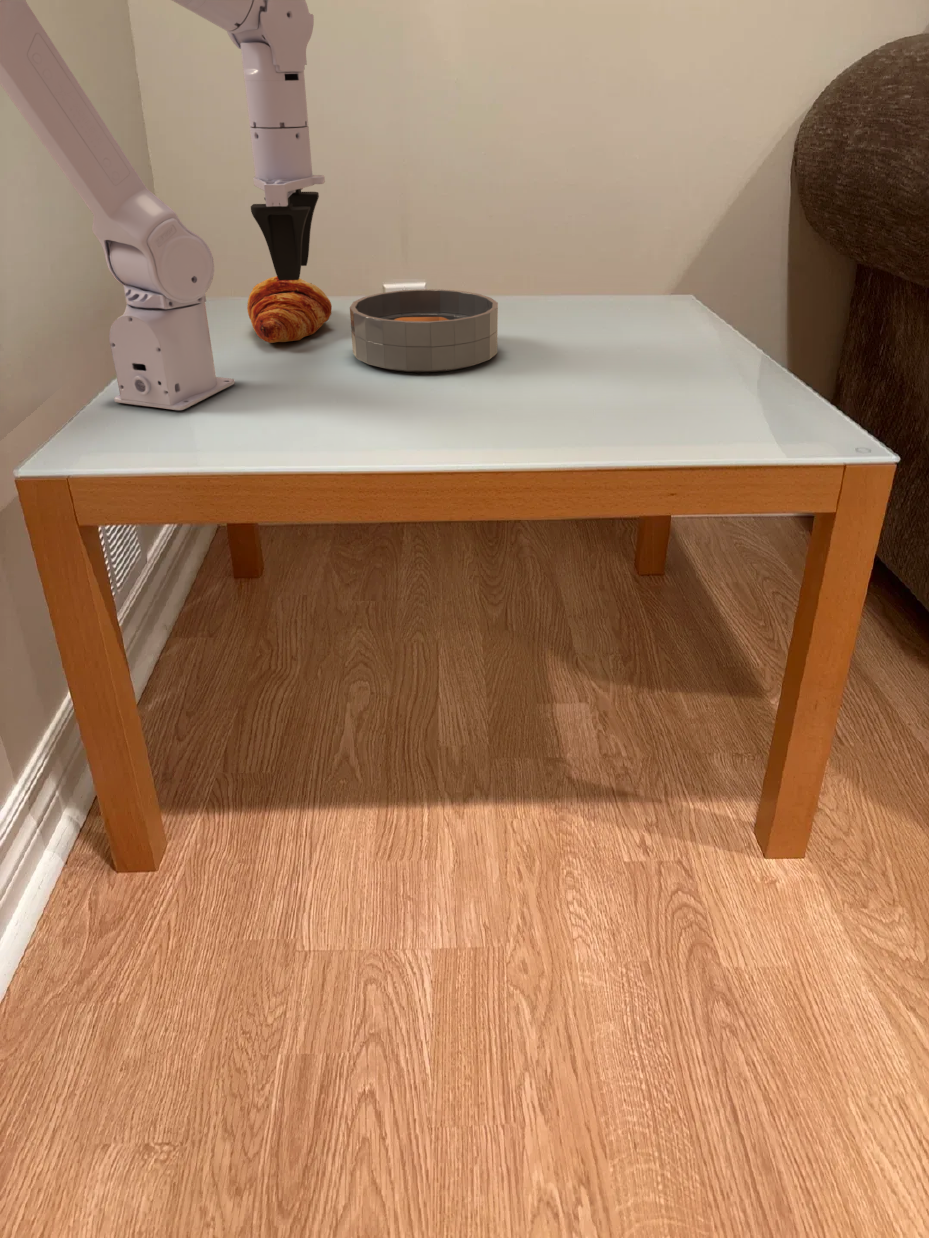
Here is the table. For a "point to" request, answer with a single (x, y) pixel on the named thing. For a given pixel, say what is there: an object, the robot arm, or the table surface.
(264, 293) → the croissant
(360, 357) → the bowl
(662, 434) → the table surface
